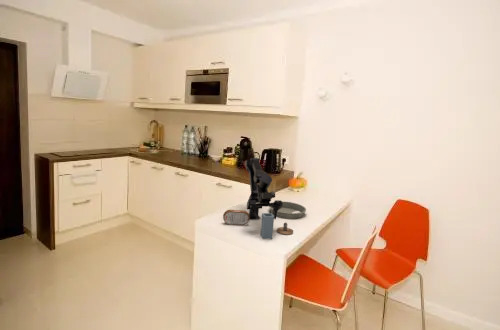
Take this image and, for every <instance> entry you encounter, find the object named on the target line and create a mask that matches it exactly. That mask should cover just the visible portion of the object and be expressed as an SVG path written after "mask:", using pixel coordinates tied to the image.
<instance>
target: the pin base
mask: <svg viewBox="0 0 500 330" xmlns="http://www.w3.org/2000/svg"><path fill="white" fill-rule="evenodd" d="M276 232H277V234H280V235H284V236H291V235H293V234H294V230H293V229H292V228H290V227H288V222H285V221H284V223H283V227H282V226H281V227H280V226H279V227H277V228H276Z"/></svg>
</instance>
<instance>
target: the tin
mask: <svg viewBox="0 0 500 330" xmlns="http://www.w3.org/2000/svg"><path fill="white" fill-rule="evenodd" d="M222 220H223V222H224V223H225V224H227V225H229V224H232V226H246V225H247V224H249V222H250V220H251V219H250V216H249V212H248V211H246V210H241V209H227V210H225V211H224V212H223V215H222Z"/></svg>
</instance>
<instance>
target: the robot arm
mask: <svg viewBox="0 0 500 330" xmlns="http://www.w3.org/2000/svg"><path fill="white" fill-rule="evenodd" d="M244 166H245V170H246V171H247V172H248V176H249V177H248V178H249V185H250V188H249V189H250V196H249V197H248V199H247V202H246V209H247V210H248V211H249V212H248V213H249V216H250V219H249V220H257V221H259V220H260V219H261V217H260V215H259V213H260V210H261V209H262V208H263V207H269V206H273V214H274V215H273V214H272V215H273V216H274V221H275V220H276V219H277V216H276V215H277V211H278V210H279V209H281V207H282V205H283V202H284V201H283V202H282V200H278V199H277V200H274V201H273V202H274V203H272V202H271V201H272V200H273V199H274V198H276V192H275V190H273V191H270V192H269V188H270V186H271V184H272V182H273V178H272V177H271V176H270V175H269V174H268V173H267V172H266V171H264V170H263V168H262V166H261V164H260V158H258V157H251V158H250V159H245V161H244Z"/></svg>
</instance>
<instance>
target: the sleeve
mask: <svg viewBox="0 0 500 330" xmlns="http://www.w3.org/2000/svg"><path fill="white" fill-rule="evenodd" d="M274 222H275V219H274V215H273V214H272V213H271V212H267V213H266V212H264V213H263V212H261V221H260V225H261V226H260V233H259V234H260V237H261V239H262V240H272V239H273V234H274V233H273V232H274Z"/></svg>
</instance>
